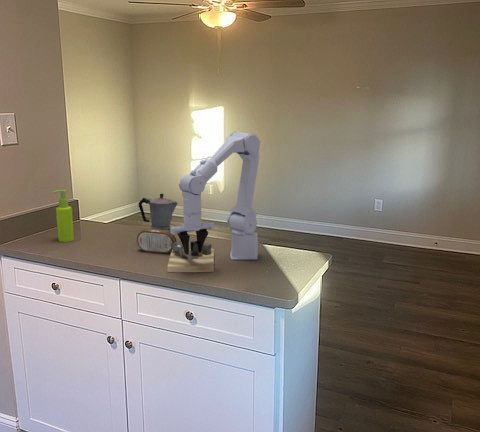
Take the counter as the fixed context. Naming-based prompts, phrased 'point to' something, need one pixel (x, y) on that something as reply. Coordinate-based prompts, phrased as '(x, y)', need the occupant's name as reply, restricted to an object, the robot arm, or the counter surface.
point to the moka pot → (159, 212)
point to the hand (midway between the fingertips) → (192, 252)
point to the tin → (155, 240)
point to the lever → (193, 246)
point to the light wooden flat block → (192, 261)
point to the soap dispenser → (64, 219)
